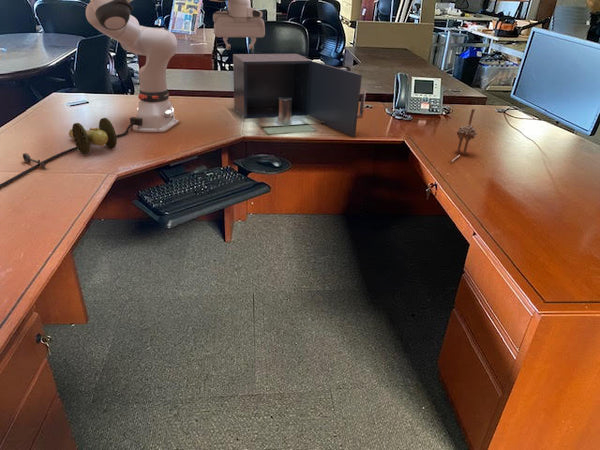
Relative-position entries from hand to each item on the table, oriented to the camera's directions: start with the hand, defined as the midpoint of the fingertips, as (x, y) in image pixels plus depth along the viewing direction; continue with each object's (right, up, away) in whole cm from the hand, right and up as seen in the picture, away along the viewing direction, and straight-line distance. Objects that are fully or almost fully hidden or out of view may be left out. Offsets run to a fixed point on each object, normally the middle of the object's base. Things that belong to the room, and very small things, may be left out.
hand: (239, 49), depth 179 cm
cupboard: (+10, -16, +40) cm, 44 cm away
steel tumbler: (+17, -25, +24) cm, 39 cm away
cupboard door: (+41, -25, +27) cm, 55 cm away
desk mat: (+18, -27, +22) cm, 39 cm away
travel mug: (+46, -8, +59) cm, 75 cm away
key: (-65, -51, -29) cm, 88 cm away
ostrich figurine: (+88, -44, -1) cm, 98 cm away
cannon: (-55, -42, -12) cm, 70 cm away
